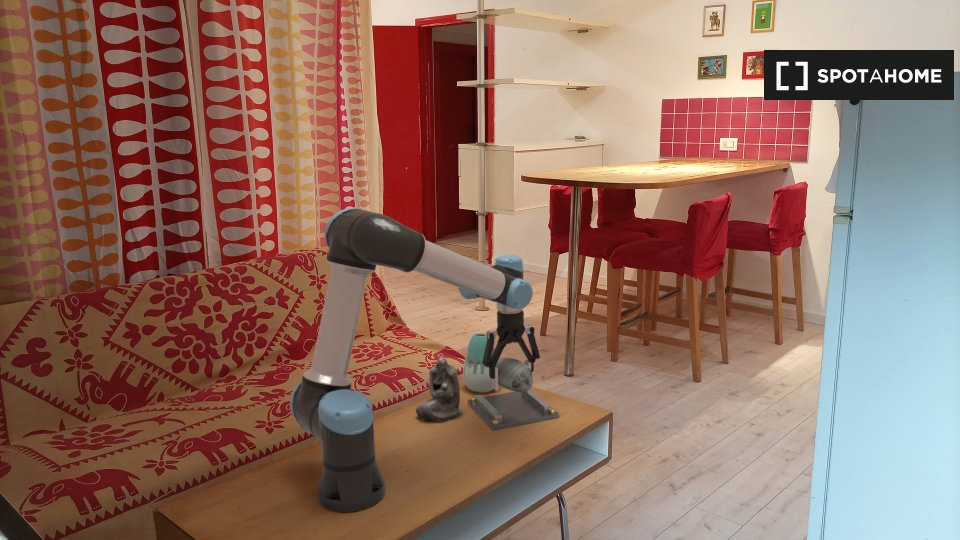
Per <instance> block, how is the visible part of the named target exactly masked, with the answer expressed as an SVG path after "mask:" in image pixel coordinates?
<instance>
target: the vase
mask: <svg viewBox="0 0 960 540" xmlns="http://www.w3.org/2000/svg"><path fill="white" fill-rule="evenodd" d="M486 343H487V333H482V332H481V333H478V332H477V333H474V334H473V335H472V336H471V337H470V339H469V343H468V346H467V350H466V355H465V359H464V363H463V370H462V380H463V382H464V385H465V387H466V388H467V389H468V390H470V391H471V392H474V393H479V394H480V393H482V394H483V393H488V392H489V393H490V392H491V391H493V390H495V389H494V388H493V387H492V379H491V378H490V377H489V367H485V366H484V365H483V364H482V361H483V357H484V352H485V348H486ZM494 350H495V345H494V346H493V351H492V354H493V352H494ZM491 356H492V355H491Z"/></svg>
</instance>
